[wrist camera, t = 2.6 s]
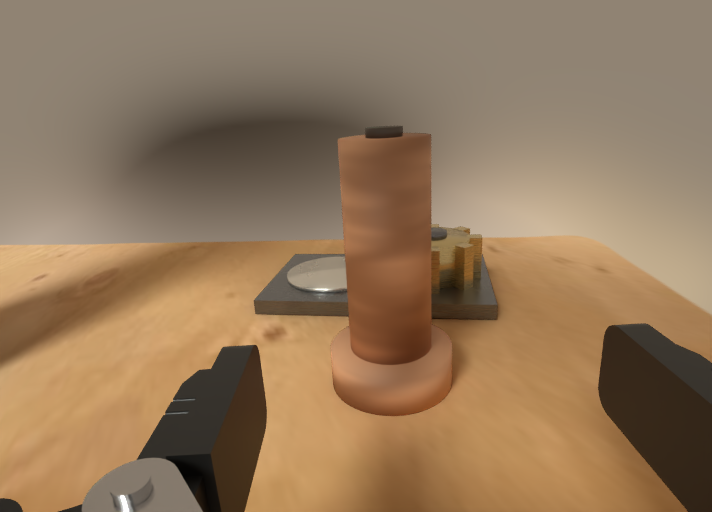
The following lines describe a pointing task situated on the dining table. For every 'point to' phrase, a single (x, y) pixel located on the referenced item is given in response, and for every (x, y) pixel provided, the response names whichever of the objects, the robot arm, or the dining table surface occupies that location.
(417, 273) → the brown round post
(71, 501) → the dining table surface
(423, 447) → the dining table surface
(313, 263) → the carrier plate
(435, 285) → the sun gear
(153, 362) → the dining table surface
